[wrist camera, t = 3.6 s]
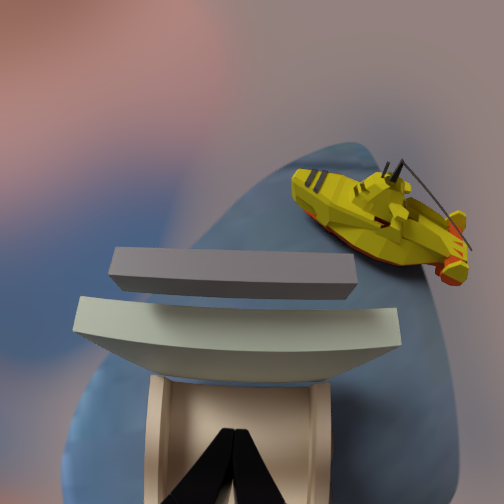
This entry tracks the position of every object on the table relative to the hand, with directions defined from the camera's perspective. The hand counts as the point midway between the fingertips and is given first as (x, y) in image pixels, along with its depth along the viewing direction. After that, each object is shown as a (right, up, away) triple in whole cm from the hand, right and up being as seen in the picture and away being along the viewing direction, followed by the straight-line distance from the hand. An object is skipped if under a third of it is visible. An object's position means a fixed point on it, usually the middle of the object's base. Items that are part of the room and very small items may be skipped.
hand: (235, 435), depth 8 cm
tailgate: (0, -1, +8) cm, 8 cm away
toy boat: (+12, +7, +18) cm, 22 cm away
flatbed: (0, -9, +7) cm, 11 cm away
